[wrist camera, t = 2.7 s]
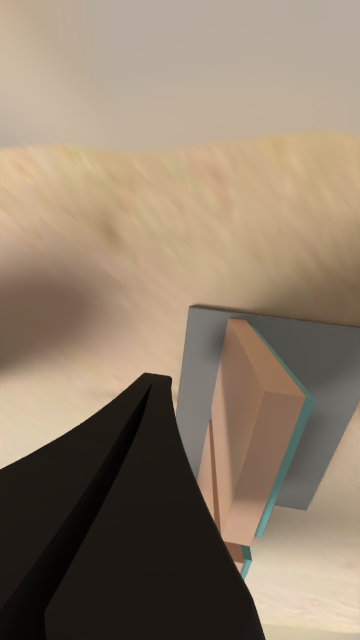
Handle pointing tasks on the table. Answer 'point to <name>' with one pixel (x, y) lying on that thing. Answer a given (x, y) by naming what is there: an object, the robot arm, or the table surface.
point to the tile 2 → (253, 430)
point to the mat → (304, 362)
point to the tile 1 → (210, 495)
